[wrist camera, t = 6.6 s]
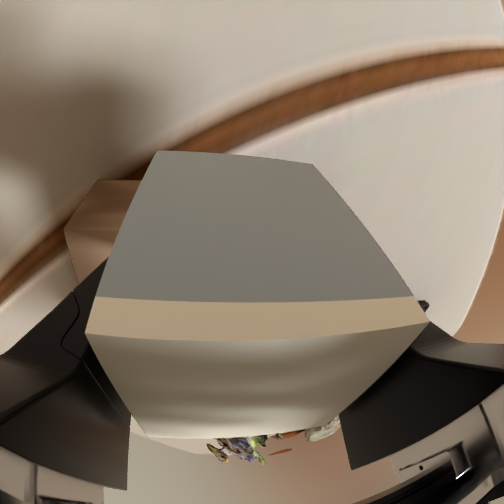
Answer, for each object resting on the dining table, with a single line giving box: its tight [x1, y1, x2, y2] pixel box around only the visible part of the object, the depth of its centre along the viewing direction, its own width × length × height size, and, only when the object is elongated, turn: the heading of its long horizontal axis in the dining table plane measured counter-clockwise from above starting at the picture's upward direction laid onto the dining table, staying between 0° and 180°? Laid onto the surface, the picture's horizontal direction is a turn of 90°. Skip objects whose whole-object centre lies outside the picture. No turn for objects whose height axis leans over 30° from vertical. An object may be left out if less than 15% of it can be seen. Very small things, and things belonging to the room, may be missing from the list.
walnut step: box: [63, 180, 142, 284], centre depth 17 cm, size 14×12×5 cm
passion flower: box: [207, 433, 283, 464], centre depth 34 cm, size 11×11×12 cm
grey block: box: [85, 151, 430, 439], centre depth 7 cm, size 5×5×6 cm
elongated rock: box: [305, 414, 341, 442], centre depth 46 cm, size 35×5×10 cm
